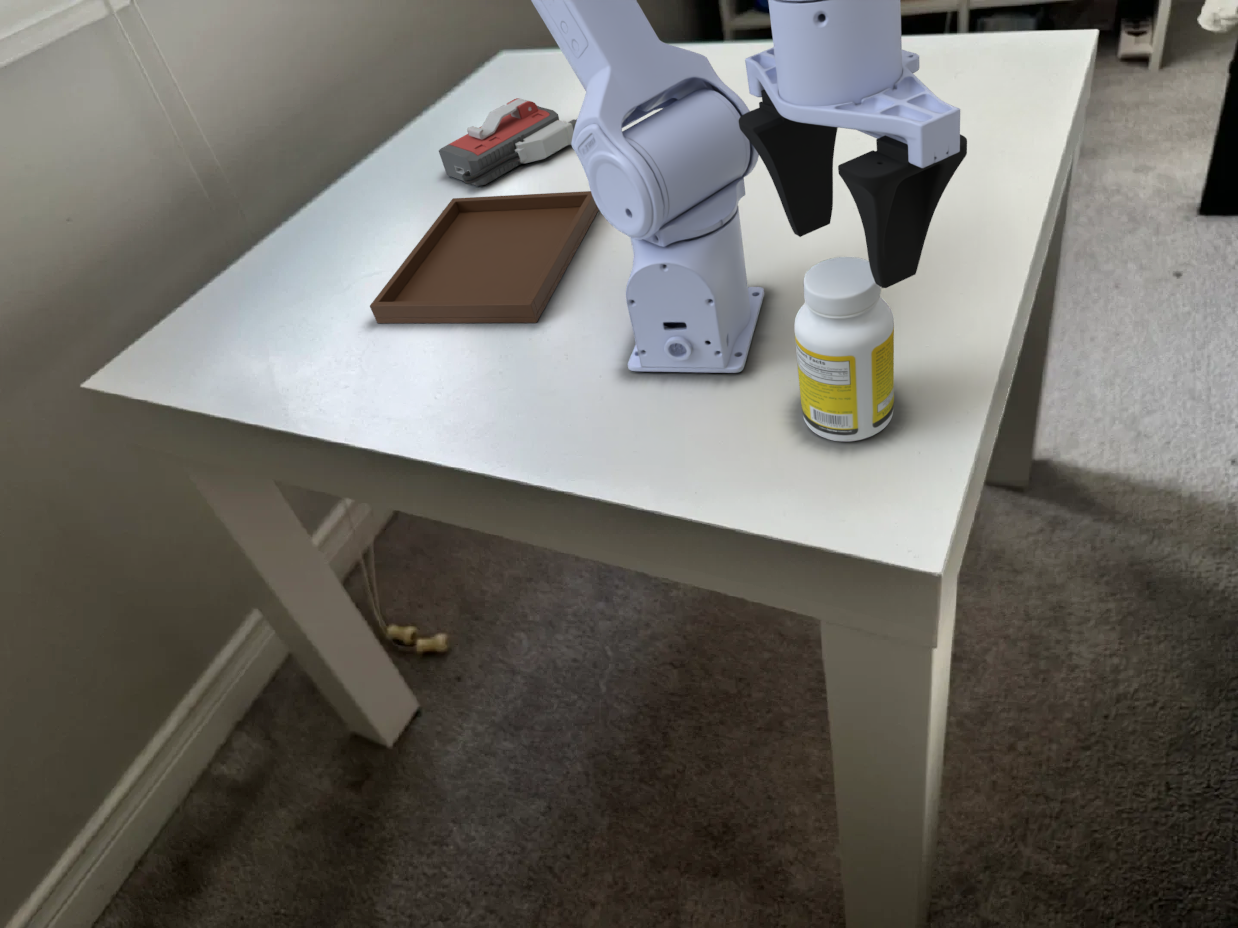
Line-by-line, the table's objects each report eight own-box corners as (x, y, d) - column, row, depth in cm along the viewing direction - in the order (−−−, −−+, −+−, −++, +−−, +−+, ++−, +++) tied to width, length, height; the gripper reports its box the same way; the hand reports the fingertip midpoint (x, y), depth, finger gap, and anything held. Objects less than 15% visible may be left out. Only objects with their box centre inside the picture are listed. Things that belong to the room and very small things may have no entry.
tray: (536, 322, 69) (530, 304, 68) (377, 323, 73) (369, 305, 72) (599, 207, 80) (595, 190, 79) (458, 214, 85) (452, 197, 84)
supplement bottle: (873, 377, 57) (872, 239, 50) (908, 430, 53) (912, 288, 46) (789, 399, 57) (778, 264, 50) (818, 454, 53) (809, 315, 46)
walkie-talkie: (484, 199, 86) (633, 112, 94) (469, 155, 83) (625, 69, 91) (434, 180, 91) (579, 99, 99) (419, 138, 88) (569, 59, 96)
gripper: (1026, -31, 35) (1009, 272, 44) (816, -64, 46) (836, 184, 55) (874, 30, 34) (888, 330, 43) (696, -18, 45) (735, 228, 53)
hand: (851, 252), depth 49 cm, fingers open, 7 cm apart
